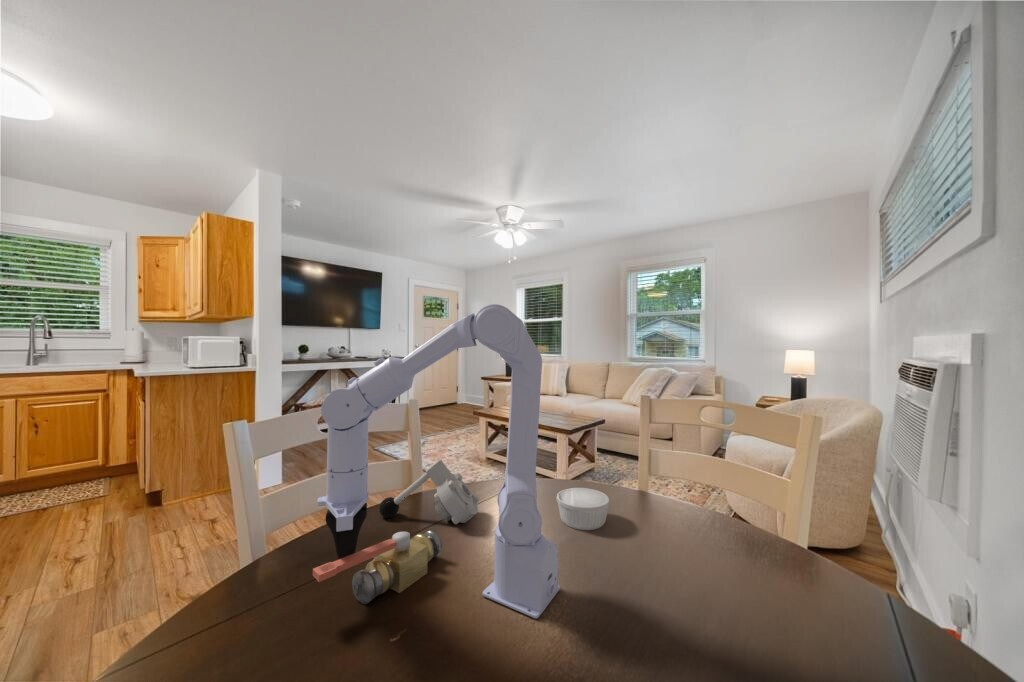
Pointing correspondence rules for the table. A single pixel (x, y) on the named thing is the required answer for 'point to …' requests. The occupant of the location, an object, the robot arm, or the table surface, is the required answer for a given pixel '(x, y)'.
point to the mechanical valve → (440, 495)
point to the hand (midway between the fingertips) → (346, 556)
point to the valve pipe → (396, 568)
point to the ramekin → (583, 508)
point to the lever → (362, 556)
